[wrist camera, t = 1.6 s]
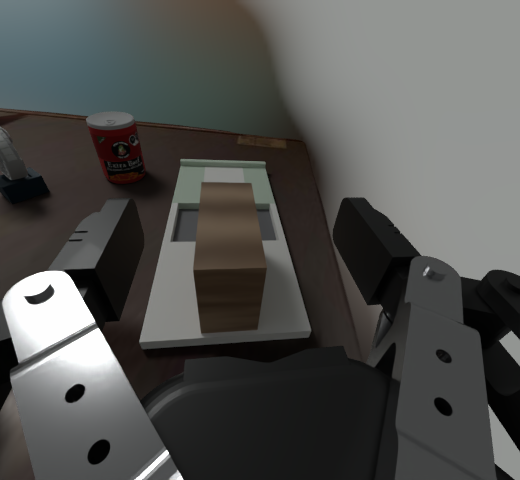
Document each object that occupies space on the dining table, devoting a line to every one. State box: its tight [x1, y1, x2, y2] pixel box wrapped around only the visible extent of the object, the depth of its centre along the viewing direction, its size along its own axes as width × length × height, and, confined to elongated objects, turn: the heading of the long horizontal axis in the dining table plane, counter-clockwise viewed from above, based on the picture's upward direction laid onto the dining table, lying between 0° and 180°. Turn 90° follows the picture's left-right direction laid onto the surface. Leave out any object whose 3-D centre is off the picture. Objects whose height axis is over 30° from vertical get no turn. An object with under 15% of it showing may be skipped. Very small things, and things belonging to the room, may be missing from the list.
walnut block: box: [193, 182, 267, 334], centre depth 30 cm, size 14×6×10 cm, turn 7°
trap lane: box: [139, 159, 311, 349], centre depth 42 cm, size 40×18×2 cm, turn 7°
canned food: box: [86, 112, 145, 184], centre depth 49 cm, size 8×8×11 cm
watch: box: [0, 127, 50, 204], centre depth 42 cm, size 6×8×11 cm
